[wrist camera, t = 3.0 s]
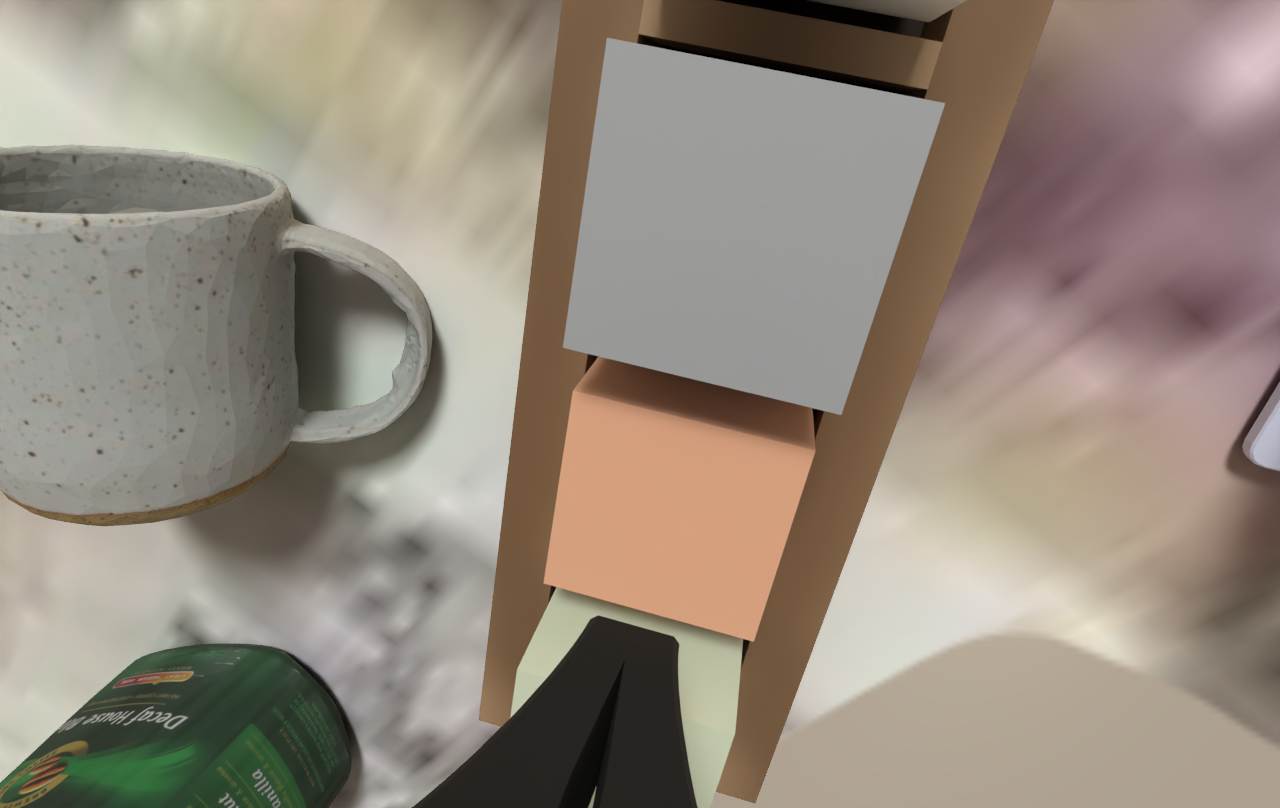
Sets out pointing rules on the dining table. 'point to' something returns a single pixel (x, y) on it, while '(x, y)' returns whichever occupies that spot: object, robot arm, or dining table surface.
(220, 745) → the coffee jar
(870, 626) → the dining table surface
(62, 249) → the ceramic mug
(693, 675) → the key sage
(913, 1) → the key ivory
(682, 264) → the key slate
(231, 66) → the dining table surface
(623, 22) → the keypad frame
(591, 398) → the key terracotta
